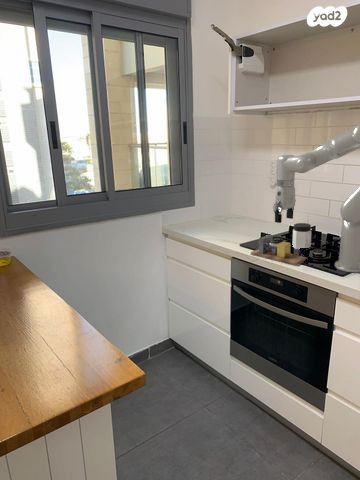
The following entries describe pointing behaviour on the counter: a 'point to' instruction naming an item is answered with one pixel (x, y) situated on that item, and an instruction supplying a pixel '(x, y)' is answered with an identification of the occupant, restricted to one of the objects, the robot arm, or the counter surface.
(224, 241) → the counter surface
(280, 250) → the hook rod
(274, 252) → the cradle
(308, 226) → the jar
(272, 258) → the board
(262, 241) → the grey arch
